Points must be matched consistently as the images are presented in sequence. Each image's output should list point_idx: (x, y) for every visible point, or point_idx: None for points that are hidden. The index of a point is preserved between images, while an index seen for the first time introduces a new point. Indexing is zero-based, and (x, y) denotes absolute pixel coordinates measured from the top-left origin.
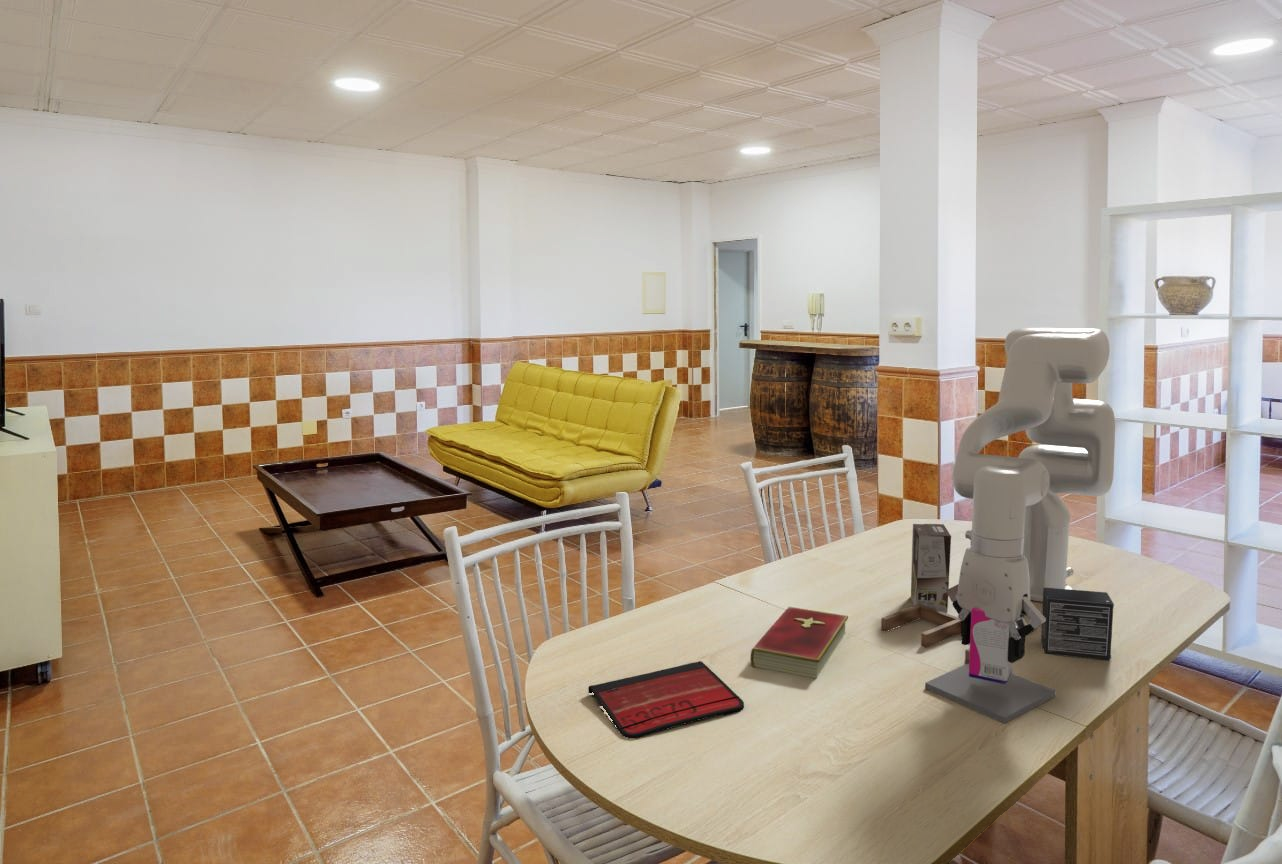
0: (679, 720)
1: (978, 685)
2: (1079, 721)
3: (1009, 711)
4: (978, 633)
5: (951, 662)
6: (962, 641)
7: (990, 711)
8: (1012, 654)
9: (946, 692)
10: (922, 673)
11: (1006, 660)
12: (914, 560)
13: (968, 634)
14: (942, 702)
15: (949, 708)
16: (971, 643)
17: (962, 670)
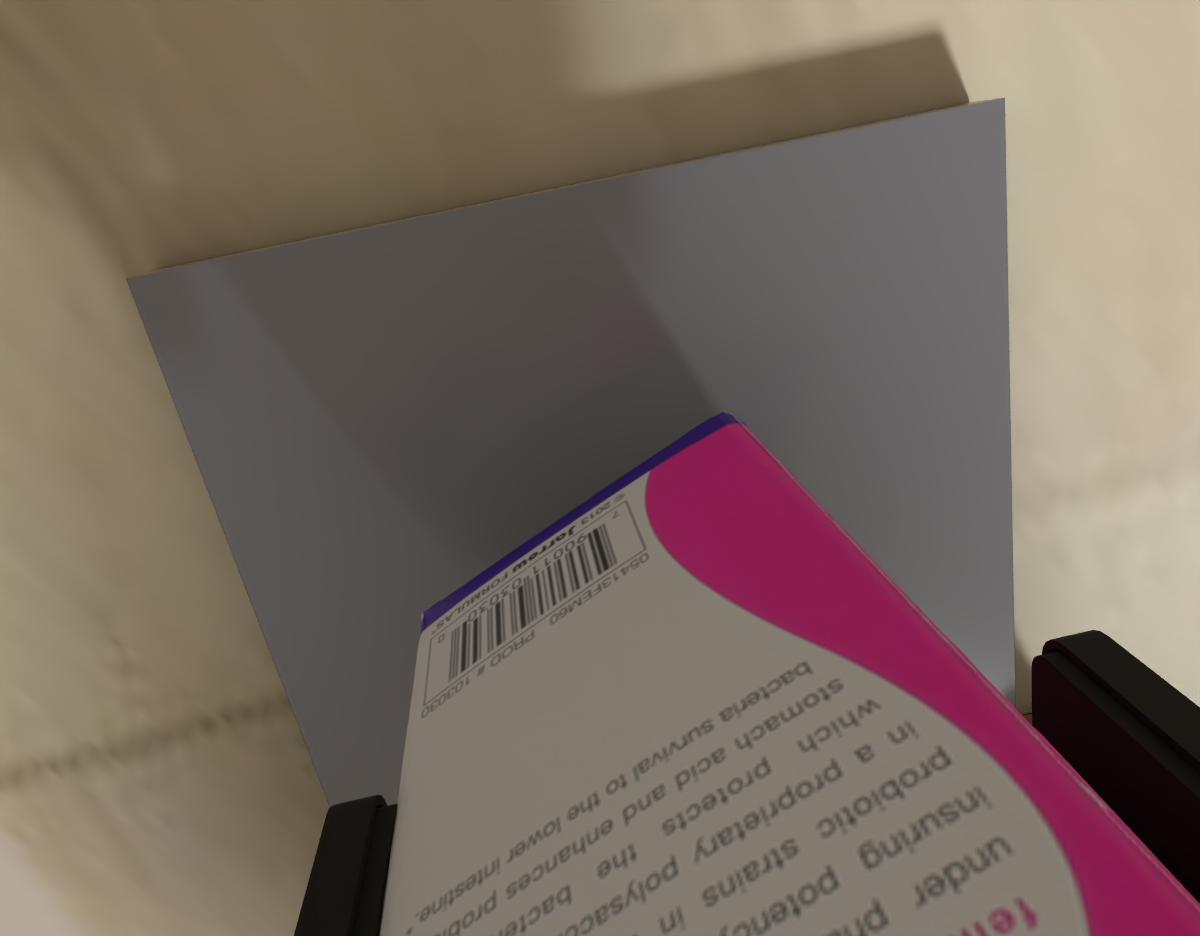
0: None
1: None
2: (19, 803)
3: (213, 402)
4: (878, 831)
5: (1126, 639)
6: (1108, 652)
7: (283, 248)
8: (308, 911)
9: (761, 148)
10: (1161, 301)
11: (404, 788)
12: None
13: (1134, 793)
14: (701, 45)
15: (583, 14)
16: (882, 607)
17: (961, 579)
